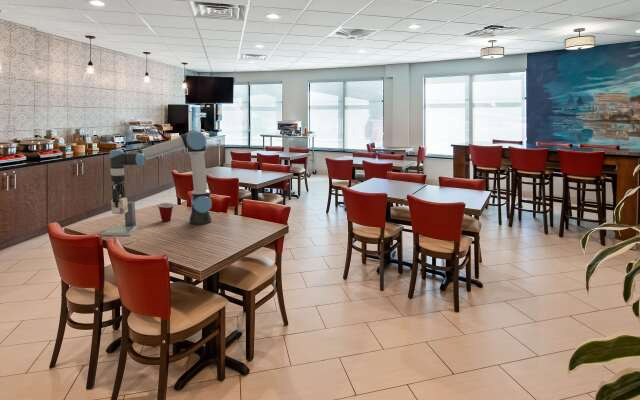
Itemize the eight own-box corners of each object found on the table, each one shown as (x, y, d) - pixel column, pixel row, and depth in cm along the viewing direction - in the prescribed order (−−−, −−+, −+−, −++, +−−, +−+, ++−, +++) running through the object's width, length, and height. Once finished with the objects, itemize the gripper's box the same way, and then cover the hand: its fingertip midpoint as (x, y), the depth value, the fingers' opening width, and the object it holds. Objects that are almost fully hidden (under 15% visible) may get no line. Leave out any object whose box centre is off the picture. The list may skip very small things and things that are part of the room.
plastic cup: (169, 223, 283) (168, 206, 281) (155, 222, 285) (154, 205, 283) (177, 219, 293) (176, 203, 291) (164, 218, 296) (163, 202, 293)
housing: (127, 211, 260) (126, 193, 258) (123, 213, 253) (122, 195, 251) (116, 211, 260) (115, 193, 257) (112, 213, 253) (110, 195, 251)
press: (144, 224, 278) (142, 201, 275) (130, 235, 252) (128, 210, 249) (119, 224, 276) (118, 201, 273) (103, 235, 250) (101, 210, 247)
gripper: (117, 172, 261) (119, 207, 266) (104, 177, 242) (107, 214, 246) (129, 173, 262) (131, 207, 266) (117, 177, 243) (120, 214, 247)
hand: (120, 210), depth 256 cm, fingers closed on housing, 7 cm apart
